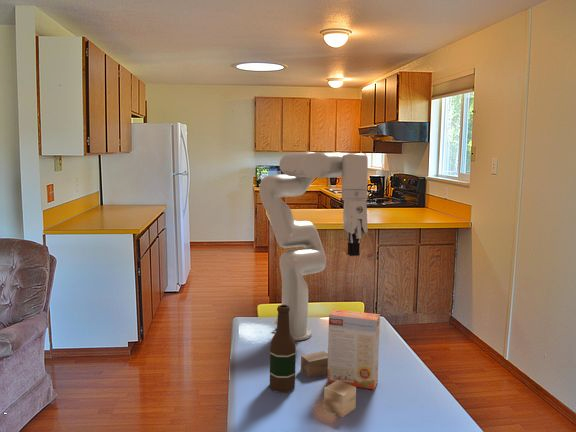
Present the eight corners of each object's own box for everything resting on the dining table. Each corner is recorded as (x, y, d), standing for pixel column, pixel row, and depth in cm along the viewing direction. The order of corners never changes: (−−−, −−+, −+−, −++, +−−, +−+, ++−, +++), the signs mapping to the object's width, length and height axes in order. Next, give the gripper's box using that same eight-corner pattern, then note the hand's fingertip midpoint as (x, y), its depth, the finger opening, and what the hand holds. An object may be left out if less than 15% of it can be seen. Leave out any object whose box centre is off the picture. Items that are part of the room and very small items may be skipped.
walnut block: (300, 370, 153) (301, 355, 153) (323, 365, 157) (323, 350, 156) (308, 377, 149) (309, 361, 148) (331, 372, 153) (331, 356, 152)
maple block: (323, 409, 131) (324, 387, 130) (337, 400, 136) (337, 379, 135) (342, 417, 127) (343, 395, 126) (355, 408, 132) (356, 387, 131)
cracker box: (378, 381, 147) (380, 313, 144) (374, 391, 141) (377, 320, 138) (332, 373, 151) (333, 307, 148) (326, 382, 146) (328, 313, 143)
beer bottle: (265, 382, 145) (265, 303, 142) (290, 378, 148) (291, 300, 144) (274, 395, 138) (274, 312, 134) (300, 390, 141) (301, 309, 137)
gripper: (375, 196, 142) (374, 259, 144) (358, 192, 157) (357, 250, 159) (350, 197, 141) (349, 260, 143) (335, 193, 155) (334, 251, 158)
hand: (353, 255), depth 151 cm, fingers closed
